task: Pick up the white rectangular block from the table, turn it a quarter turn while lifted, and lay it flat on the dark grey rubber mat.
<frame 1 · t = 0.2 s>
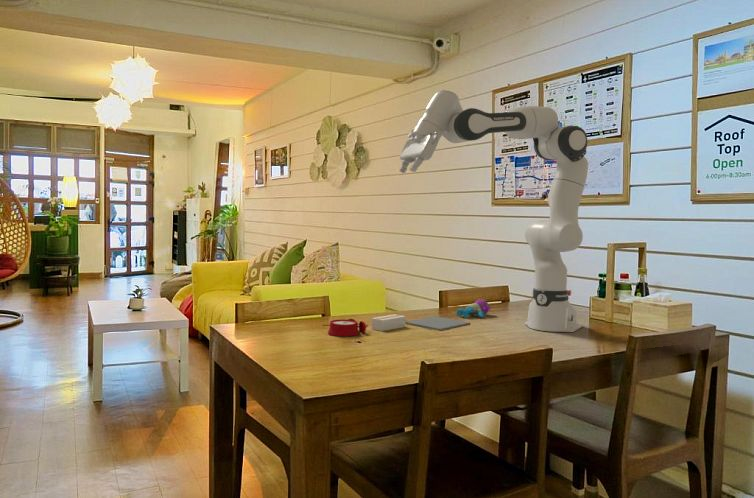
hand: (406, 171, 194), 54 cm above the table, tool tilted 30°, fingers open, 8 cm apart
mat: (437, 323, 218), on the table
white rectangular block: (388, 328, 209), on the table
alarm clock: (347, 334, 199), on the table
toy: (474, 316, 237), on the table
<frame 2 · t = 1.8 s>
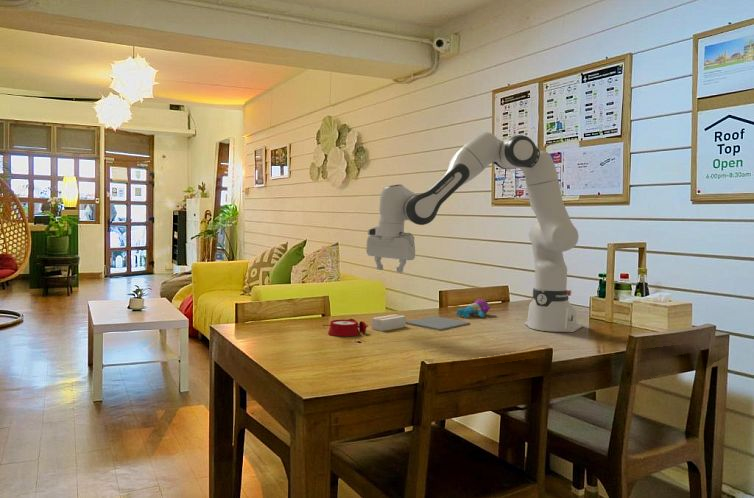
hand: (389, 271, 207), 20 cm above the table, tool pointing down, fingers open, 8 cm apart
nothing on the table moved.
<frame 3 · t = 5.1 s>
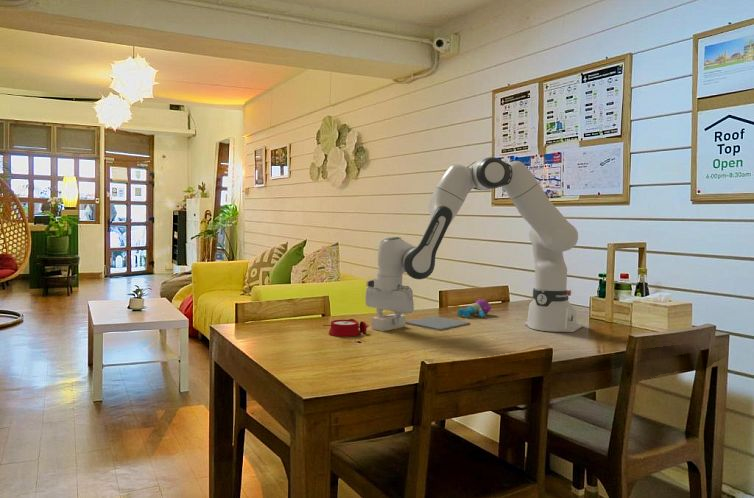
hand: (388, 322, 209), 2 cm above the table, tool pointing down, fingers closed on white rectangular block, 5 cm apart
white rectangular block: (388, 327, 209), on the table, touching gripper
everything else where it was.
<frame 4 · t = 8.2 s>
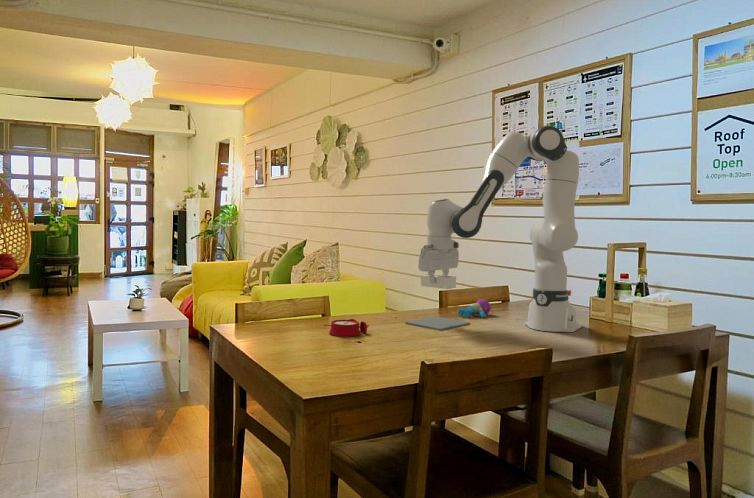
hand: (438, 282, 216), 15 cm above the table, tool pointing down, fingers closed on white rectangular block, 5 cm apart
white rectangular block: (438, 286, 216), point 14 cm above the table, touching gripper
everything else where it was.
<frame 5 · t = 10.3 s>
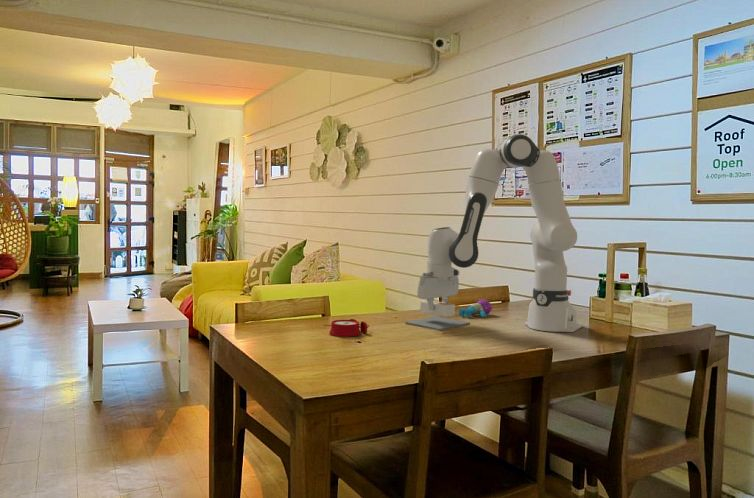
hand: (437, 309, 217), 5 cm above the table, tool pointing down, fingers closed on white rectangular block, 5 cm apart
white rectangular block: (437, 313, 218), point 4 cm above the table, touching gripper
when the fingers open (3 cm above the table, at t = 11.7 s): white rectangular block stays where it is, resting on mat.
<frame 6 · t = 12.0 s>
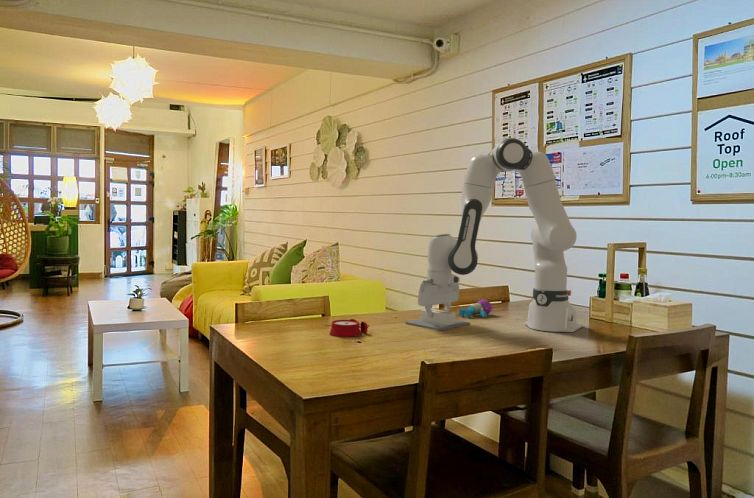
hand: (438, 316, 218), 3 cm above the table, tool pointing down, fingers open, 8 cm apart
white rectangular block: (437, 322, 218), point 1 cm above the table, touching mat
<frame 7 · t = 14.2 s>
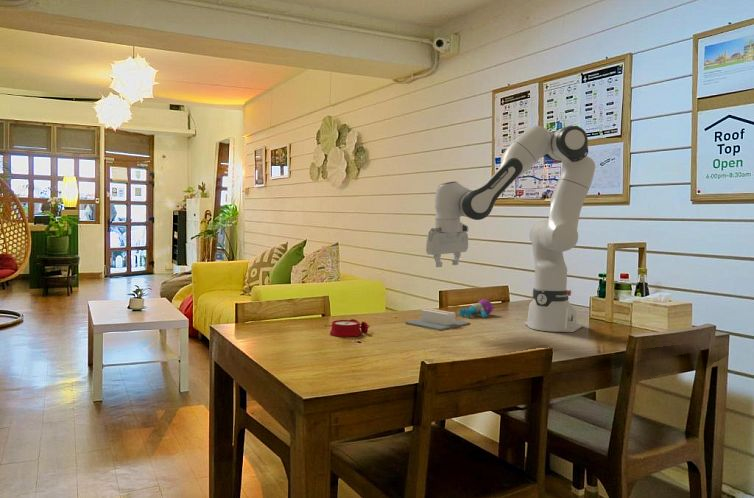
hand: (447, 266, 213), 22 cm above the table, tool pointing down, fingers open, 8 cm apart
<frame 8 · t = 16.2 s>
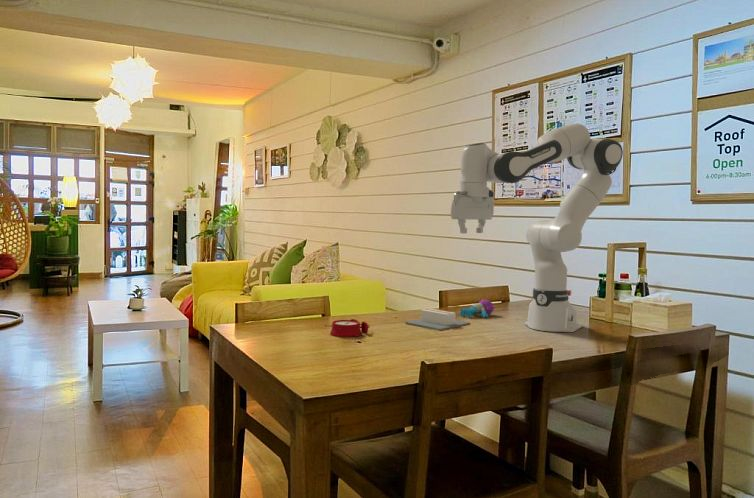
hand: (471, 233, 200), 34 cm above the table, tool pointing down, fingers open, 8 cm apart
at the end: white rectangular block inside the target area on the mat (0.0 cm from its centre), point 0.6 cm above the mat's base; white rectangular block tilted 0°; the gripper is holding nothing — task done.
